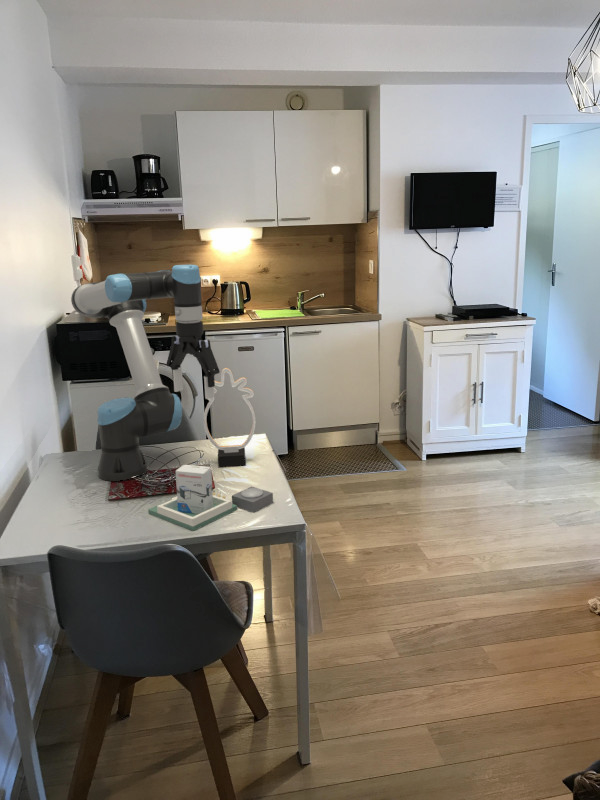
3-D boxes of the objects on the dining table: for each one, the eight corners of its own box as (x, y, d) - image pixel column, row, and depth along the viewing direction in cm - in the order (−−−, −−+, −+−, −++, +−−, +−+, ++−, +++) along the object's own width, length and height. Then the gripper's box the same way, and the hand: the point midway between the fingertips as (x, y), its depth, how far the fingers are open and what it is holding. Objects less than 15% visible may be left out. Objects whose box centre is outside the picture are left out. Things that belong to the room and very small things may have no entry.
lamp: (257, 456, 218) (252, 363, 210) (258, 465, 209) (253, 369, 201) (206, 459, 216) (200, 366, 208) (205, 468, 208) (199, 372, 200)
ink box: (177, 512, 173) (173, 470, 170) (186, 504, 177) (182, 464, 174) (206, 515, 170) (203, 473, 167) (214, 507, 175) (211, 466, 172)
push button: (232, 505, 179) (231, 493, 178) (252, 496, 185) (251, 484, 184) (253, 512, 174) (252, 500, 173) (273, 502, 180) (272, 490, 179)
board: (148, 513, 175) (147, 502, 174) (193, 494, 187) (192, 484, 186) (193, 530, 164) (192, 519, 163) (237, 509, 176) (236, 498, 175)
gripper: (150, 319, 186) (156, 390, 192) (209, 326, 171) (213, 403, 176) (171, 316, 192) (176, 385, 197) (229, 322, 176) (233, 398, 182)
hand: (194, 394), depth 187 cm, fingers open, 13 cm apart
